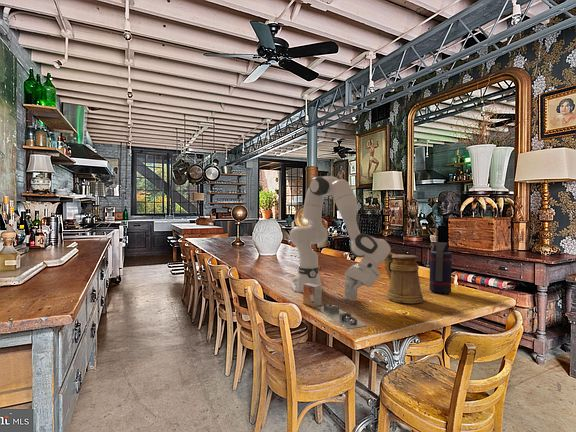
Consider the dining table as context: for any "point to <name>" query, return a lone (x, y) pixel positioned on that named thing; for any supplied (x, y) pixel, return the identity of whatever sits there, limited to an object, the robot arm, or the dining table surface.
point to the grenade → (440, 268)
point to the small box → (312, 294)
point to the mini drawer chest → (350, 289)
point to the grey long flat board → (340, 316)
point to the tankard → (403, 278)
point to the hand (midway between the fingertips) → (349, 287)
